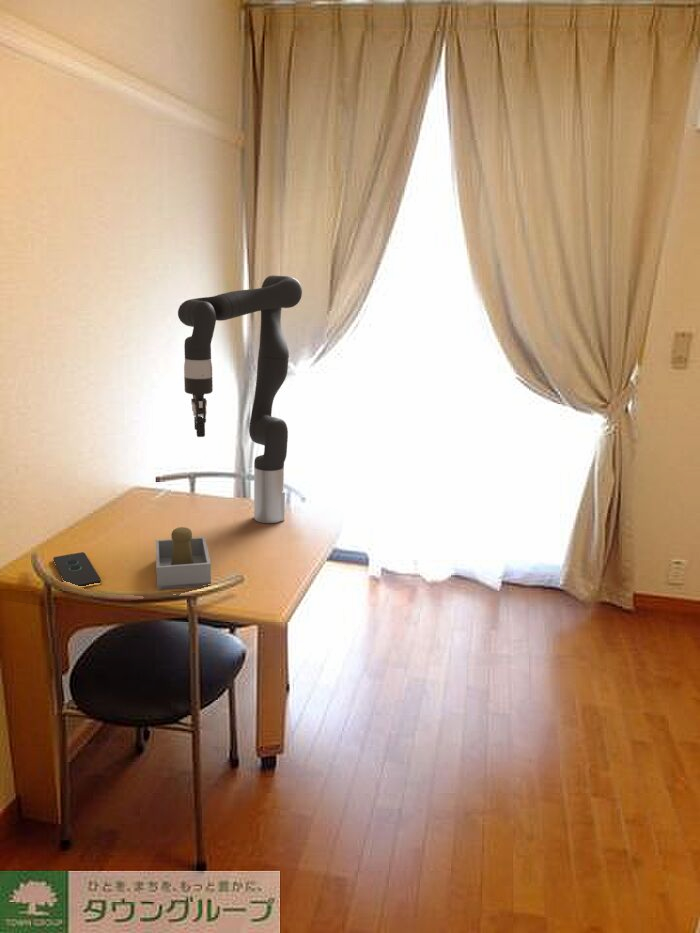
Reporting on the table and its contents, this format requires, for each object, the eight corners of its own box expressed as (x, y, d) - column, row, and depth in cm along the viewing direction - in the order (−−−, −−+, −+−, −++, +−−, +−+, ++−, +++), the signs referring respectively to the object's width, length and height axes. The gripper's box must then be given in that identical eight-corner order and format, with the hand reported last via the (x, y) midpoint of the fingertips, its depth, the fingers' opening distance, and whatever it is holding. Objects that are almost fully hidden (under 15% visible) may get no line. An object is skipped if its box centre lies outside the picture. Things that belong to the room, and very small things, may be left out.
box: (205, 557, 190) (204, 536, 188) (210, 585, 173) (210, 563, 172) (156, 560, 186) (155, 540, 185) (157, 590, 170) (156, 567, 168)
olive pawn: (172, 563, 183) (171, 524, 180) (195, 563, 183) (194, 524, 180) (169, 573, 177) (167, 533, 174) (193, 573, 178) (192, 533, 175)
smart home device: (84, 551, 188) (102, 579, 171) (85, 557, 188) (102, 585, 172) (51, 556, 183) (66, 586, 167) (52, 562, 184) (67, 592, 168)
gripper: (214, 379, 183) (215, 438, 188) (210, 371, 196) (211, 427, 201) (185, 379, 181) (187, 439, 186) (182, 371, 194) (184, 427, 199)
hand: (199, 433), depth 193 cm, fingers open, 8 cm apart
